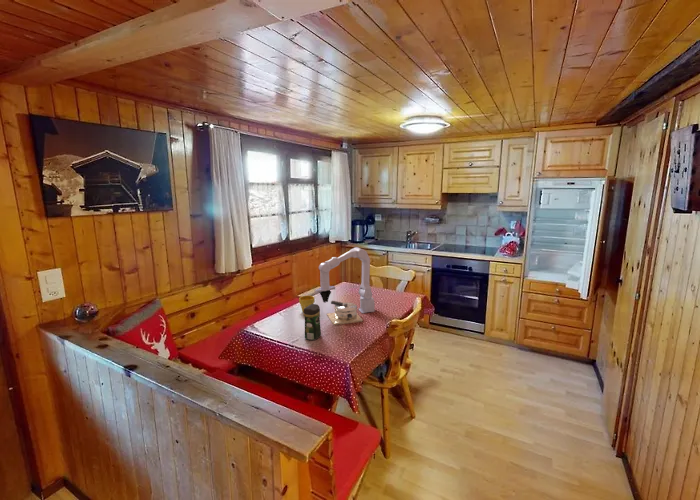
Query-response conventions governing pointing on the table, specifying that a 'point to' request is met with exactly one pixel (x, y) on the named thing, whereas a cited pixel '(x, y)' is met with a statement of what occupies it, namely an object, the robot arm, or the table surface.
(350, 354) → the table surface
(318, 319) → the coffee jar
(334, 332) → the table surface
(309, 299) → the plant pot
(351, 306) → the cooker lid
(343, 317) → the tan square board
